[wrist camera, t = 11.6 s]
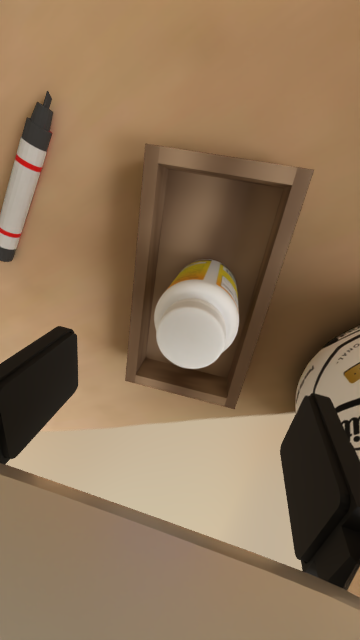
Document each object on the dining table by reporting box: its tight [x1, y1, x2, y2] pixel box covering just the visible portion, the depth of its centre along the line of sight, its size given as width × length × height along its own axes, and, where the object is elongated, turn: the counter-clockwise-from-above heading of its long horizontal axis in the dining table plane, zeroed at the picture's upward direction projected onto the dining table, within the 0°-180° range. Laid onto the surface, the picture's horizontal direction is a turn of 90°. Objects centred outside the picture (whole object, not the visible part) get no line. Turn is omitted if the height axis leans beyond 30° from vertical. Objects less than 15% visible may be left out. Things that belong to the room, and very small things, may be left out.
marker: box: [0, 91, 53, 262], centre depth 23 cm, size 15×2×2 cm, turn 147°
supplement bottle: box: [154, 259, 239, 369], centre depth 19 cm, size 6×6×10 cm
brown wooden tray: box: [125, 144, 314, 409], centre depth 23 cm, size 11×20×4 cm, turn 171°
